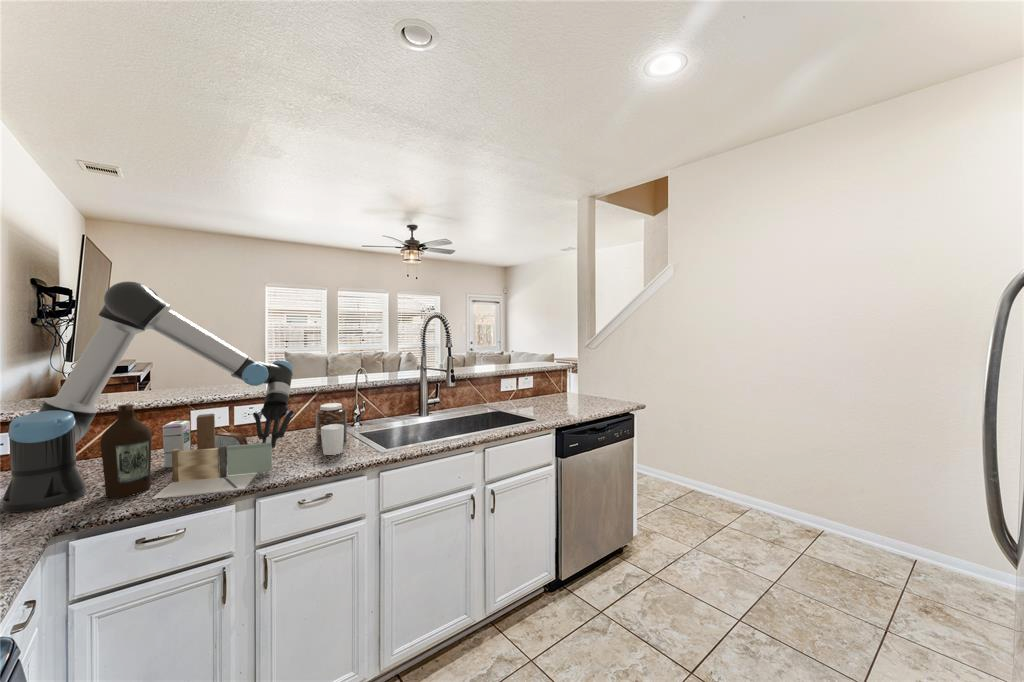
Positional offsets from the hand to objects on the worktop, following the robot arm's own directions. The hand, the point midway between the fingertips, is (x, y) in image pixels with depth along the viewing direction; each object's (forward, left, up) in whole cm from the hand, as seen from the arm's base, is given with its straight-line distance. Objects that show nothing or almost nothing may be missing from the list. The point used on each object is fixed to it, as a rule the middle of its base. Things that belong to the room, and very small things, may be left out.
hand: (266, 456), depth 135 cm
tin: (-17, +21, -5) cm, 27 cm away
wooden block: (-21, +6, -5) cm, 22 cm away
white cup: (+19, +12, -5) cm, 23 cm away
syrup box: (-30, +15, -5) cm, 34 cm away
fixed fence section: (-17, -4, -4) cm, 18 cm away
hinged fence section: (-4, -4, -4) cm, 7 cm away
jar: (+17, +29, -5) cm, 34 cm away
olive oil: (-33, -8, -5) cm, 34 cm away
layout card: (-13, -9, -4) cm, 17 cm away
